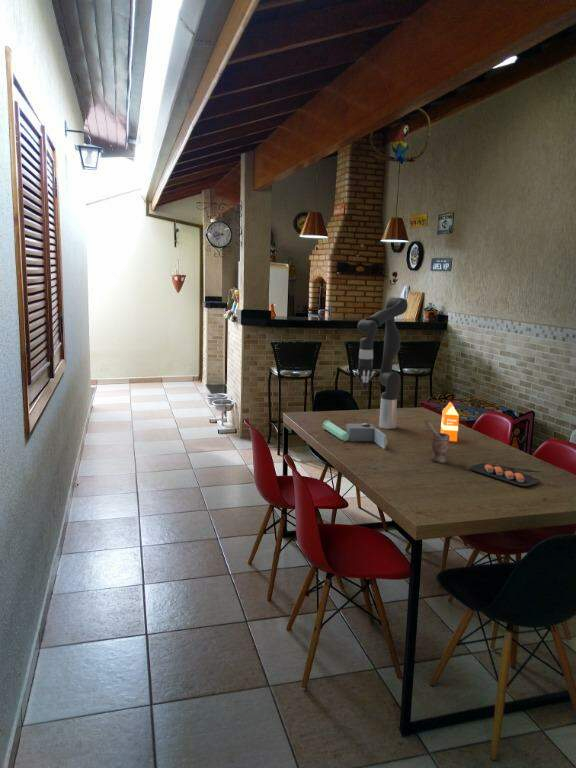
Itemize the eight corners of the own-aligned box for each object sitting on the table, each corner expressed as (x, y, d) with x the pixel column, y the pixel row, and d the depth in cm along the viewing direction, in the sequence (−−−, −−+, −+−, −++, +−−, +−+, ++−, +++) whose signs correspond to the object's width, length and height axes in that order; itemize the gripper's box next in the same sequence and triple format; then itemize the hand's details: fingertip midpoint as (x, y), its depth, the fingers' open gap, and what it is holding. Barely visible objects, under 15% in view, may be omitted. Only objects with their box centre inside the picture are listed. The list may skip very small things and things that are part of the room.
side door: (373, 441, 305) (374, 427, 304) (376, 440, 305) (377, 427, 304) (383, 448, 291) (384, 435, 290) (386, 448, 291) (387, 435, 290)
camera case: (370, 436, 315) (371, 422, 314) (374, 441, 305) (375, 426, 304) (345, 435, 314) (346, 421, 312) (349, 441, 304) (350, 426, 302)
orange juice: (453, 437, 320) (457, 402, 316) (456, 441, 311) (460, 405, 308) (439, 436, 321) (442, 401, 317) (442, 440, 312) (445, 404, 308)
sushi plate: (465, 471, 264) (466, 463, 263) (502, 460, 282) (503, 453, 281) (524, 490, 241) (525, 482, 240) (560, 478, 259) (561, 470, 258)
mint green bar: (349, 430, 302) (330, 418, 325) (339, 435, 301) (321, 422, 324) (352, 440, 304) (333, 427, 327) (343, 444, 303) (324, 431, 326)
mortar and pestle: (426, 463, 271) (429, 422, 267) (420, 457, 279) (423, 418, 276) (449, 463, 272) (453, 422, 268) (443, 458, 280) (447, 418, 277)
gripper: (376, 356, 312) (374, 387, 315) (352, 356, 310) (351, 387, 314) (379, 358, 305) (378, 390, 308) (355, 358, 303) (354, 390, 306)
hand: (364, 389), depth 311 cm, fingers closed
